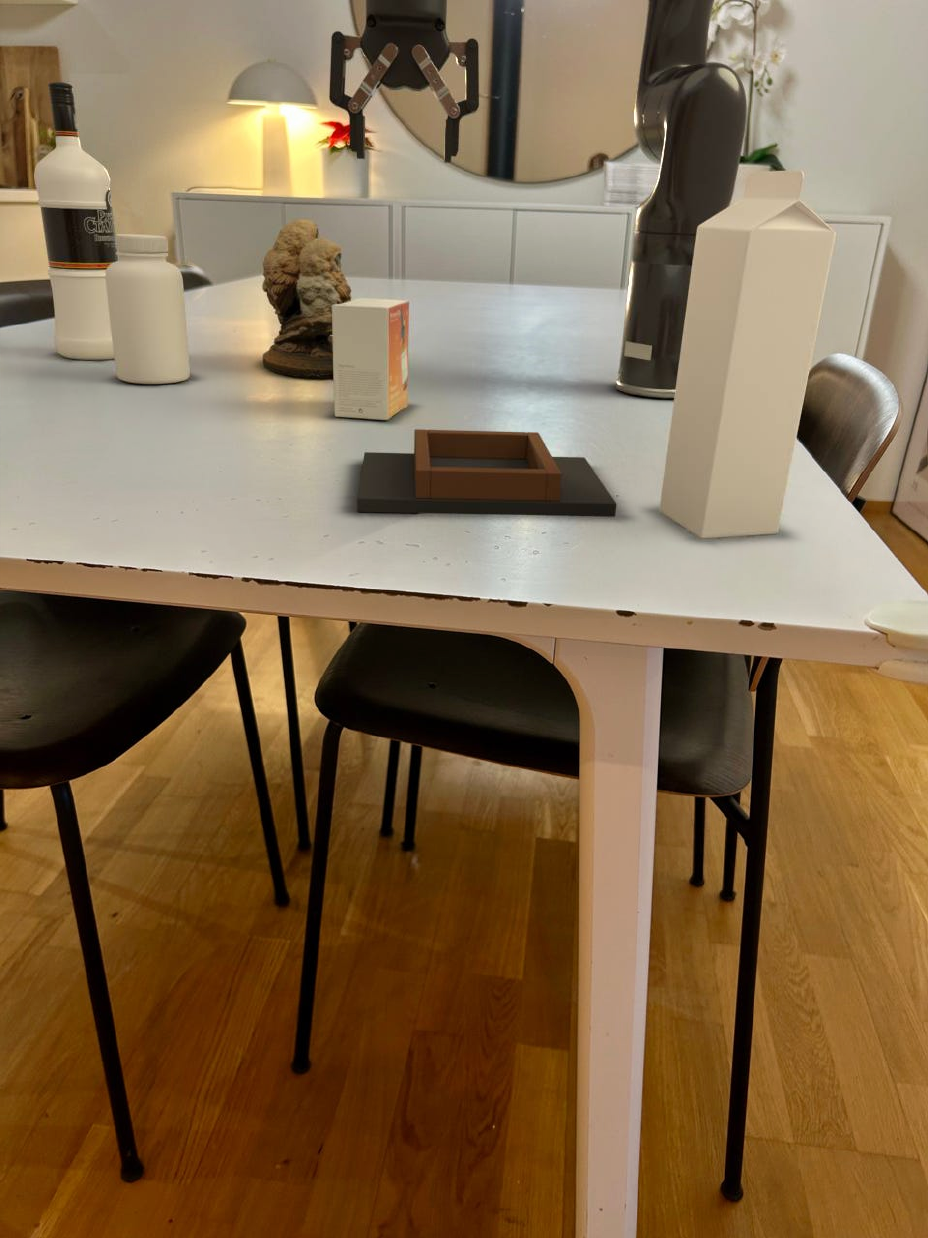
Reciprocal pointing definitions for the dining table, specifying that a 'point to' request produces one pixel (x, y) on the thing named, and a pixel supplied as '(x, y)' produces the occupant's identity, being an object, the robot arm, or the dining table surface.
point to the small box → (370, 357)
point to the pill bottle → (147, 312)
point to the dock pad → (481, 477)
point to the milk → (745, 359)
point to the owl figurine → (303, 299)
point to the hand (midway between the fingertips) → (404, 160)
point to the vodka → (76, 236)
